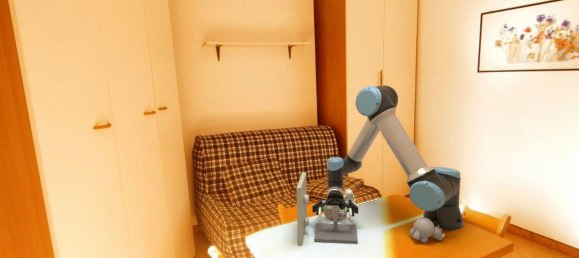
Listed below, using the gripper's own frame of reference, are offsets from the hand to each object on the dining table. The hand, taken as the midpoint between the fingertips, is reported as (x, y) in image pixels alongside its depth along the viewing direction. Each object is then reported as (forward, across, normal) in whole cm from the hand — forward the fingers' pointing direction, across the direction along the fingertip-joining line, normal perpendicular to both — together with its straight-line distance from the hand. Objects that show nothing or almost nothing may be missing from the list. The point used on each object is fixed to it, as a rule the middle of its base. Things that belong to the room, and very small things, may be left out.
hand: (335, 217), depth 130 cm
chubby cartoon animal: (+1, -34, -8) cm, 35 cm away
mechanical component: (-1, 0, -6) cm, 7 cm away
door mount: (-1, +3, -7) cm, 8 cm away
